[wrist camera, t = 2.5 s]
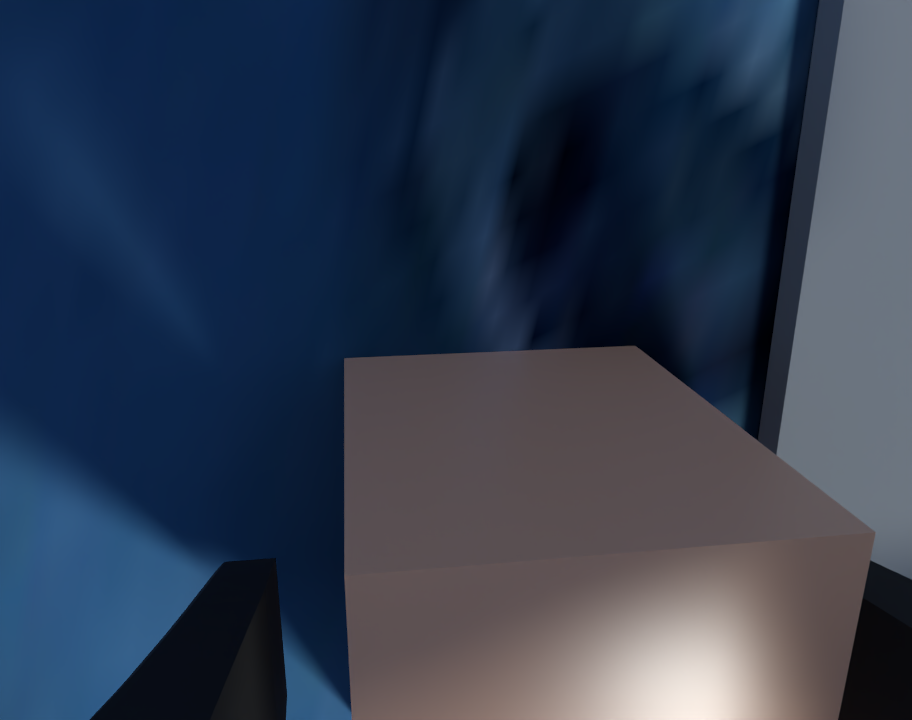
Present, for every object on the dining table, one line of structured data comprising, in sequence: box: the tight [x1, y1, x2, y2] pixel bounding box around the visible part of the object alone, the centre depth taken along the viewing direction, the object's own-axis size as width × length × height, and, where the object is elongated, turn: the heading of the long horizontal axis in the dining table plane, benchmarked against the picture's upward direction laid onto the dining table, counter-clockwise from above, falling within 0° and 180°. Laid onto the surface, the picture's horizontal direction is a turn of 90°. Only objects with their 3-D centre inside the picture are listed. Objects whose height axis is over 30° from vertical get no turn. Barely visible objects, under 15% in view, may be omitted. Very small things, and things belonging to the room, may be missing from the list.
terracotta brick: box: [344, 346, 876, 720], centre depth 9 cm, size 4×6×5 cm, turn 0°
